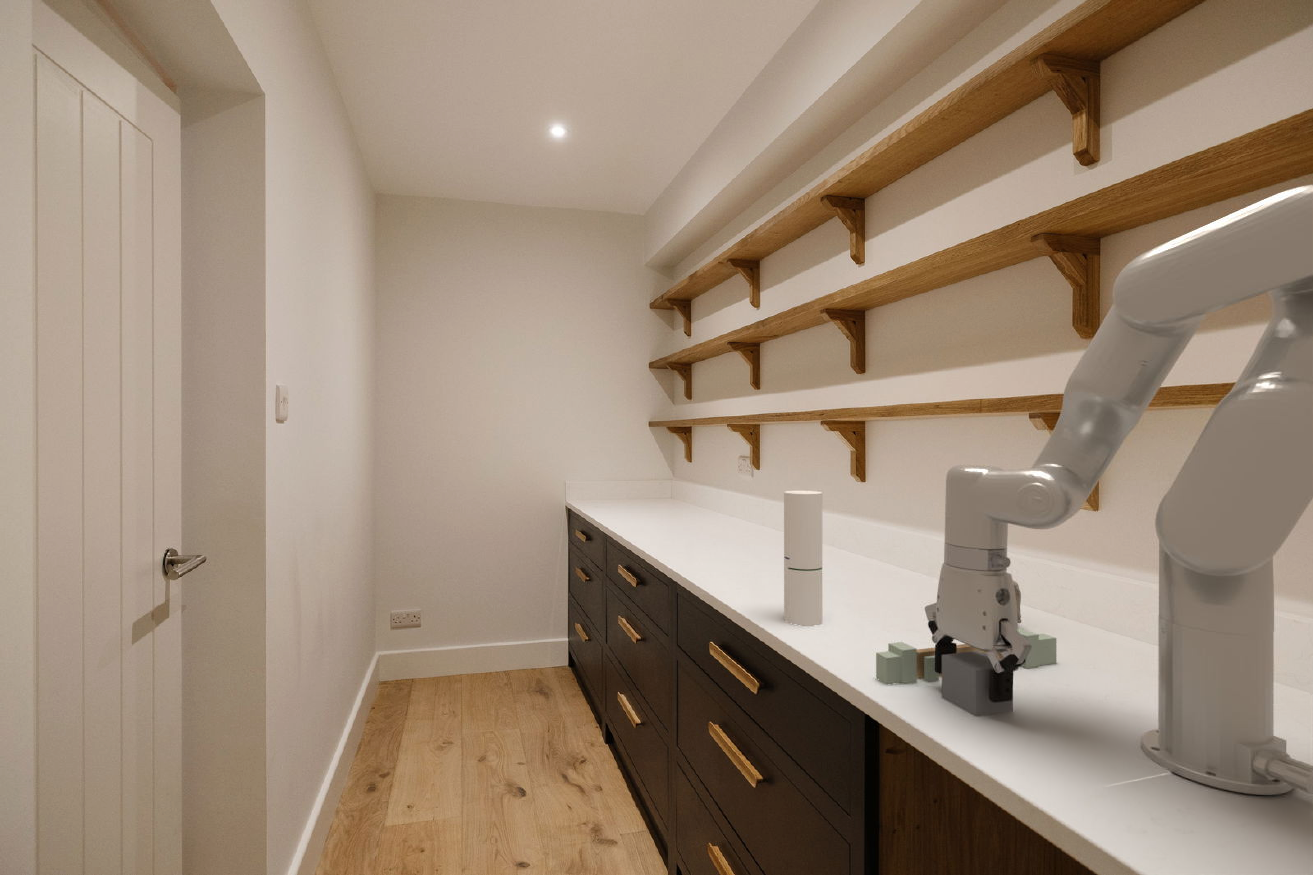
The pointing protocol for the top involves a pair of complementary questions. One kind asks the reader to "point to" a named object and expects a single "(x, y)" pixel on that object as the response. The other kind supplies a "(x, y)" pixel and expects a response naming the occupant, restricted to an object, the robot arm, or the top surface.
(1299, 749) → the top surface
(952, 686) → the rectangular block
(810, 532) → the cylindrical container
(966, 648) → the brown wooden plank
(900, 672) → the grey-green stepped bar
